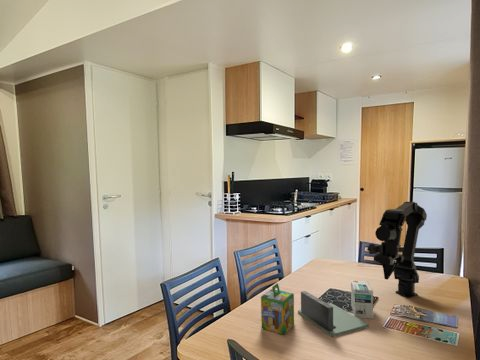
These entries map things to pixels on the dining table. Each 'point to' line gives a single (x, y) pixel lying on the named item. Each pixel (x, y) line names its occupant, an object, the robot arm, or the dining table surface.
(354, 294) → the light bulb box
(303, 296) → the bookend
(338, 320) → the shelf board
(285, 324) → the chalk box
